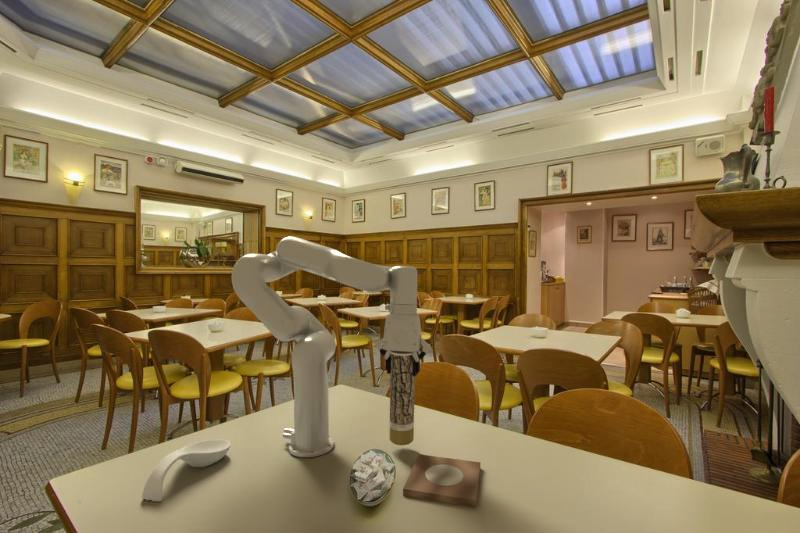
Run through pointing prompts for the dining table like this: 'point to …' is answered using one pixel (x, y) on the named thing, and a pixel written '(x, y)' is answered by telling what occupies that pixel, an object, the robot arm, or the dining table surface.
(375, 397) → the dining table surface
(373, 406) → the dining table surface
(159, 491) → the spoon rest
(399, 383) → the bark print can
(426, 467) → the board
